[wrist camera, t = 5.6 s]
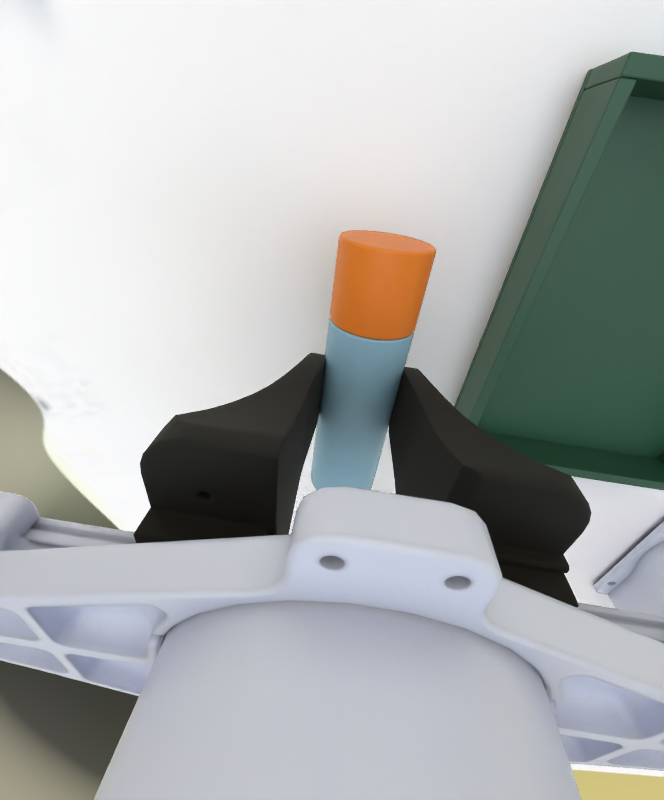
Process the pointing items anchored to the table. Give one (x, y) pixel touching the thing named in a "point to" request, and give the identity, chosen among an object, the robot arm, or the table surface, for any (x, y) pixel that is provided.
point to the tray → (587, 295)
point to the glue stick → (366, 351)
